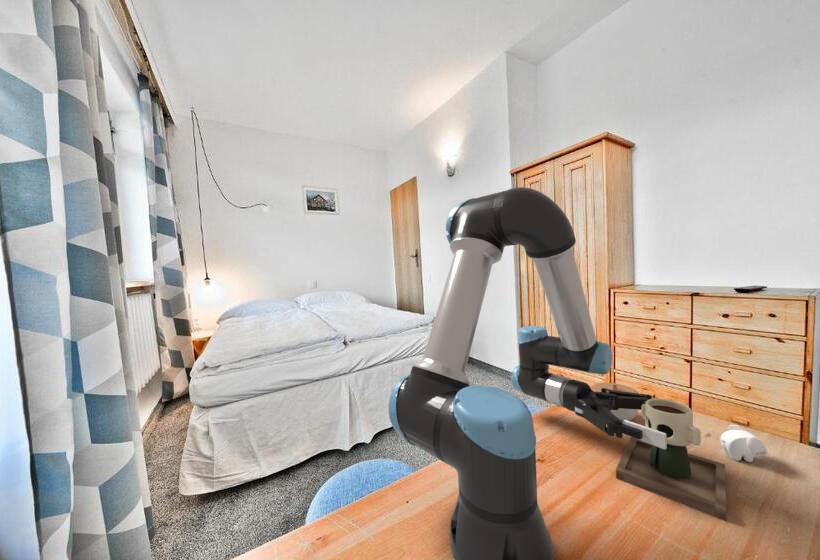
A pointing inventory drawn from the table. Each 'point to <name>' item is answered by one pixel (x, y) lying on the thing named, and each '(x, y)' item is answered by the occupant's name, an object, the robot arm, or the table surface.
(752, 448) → the elephant figurine
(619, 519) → the table surface
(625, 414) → the lidded jar
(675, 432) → the character mug
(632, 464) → the walnut tray
